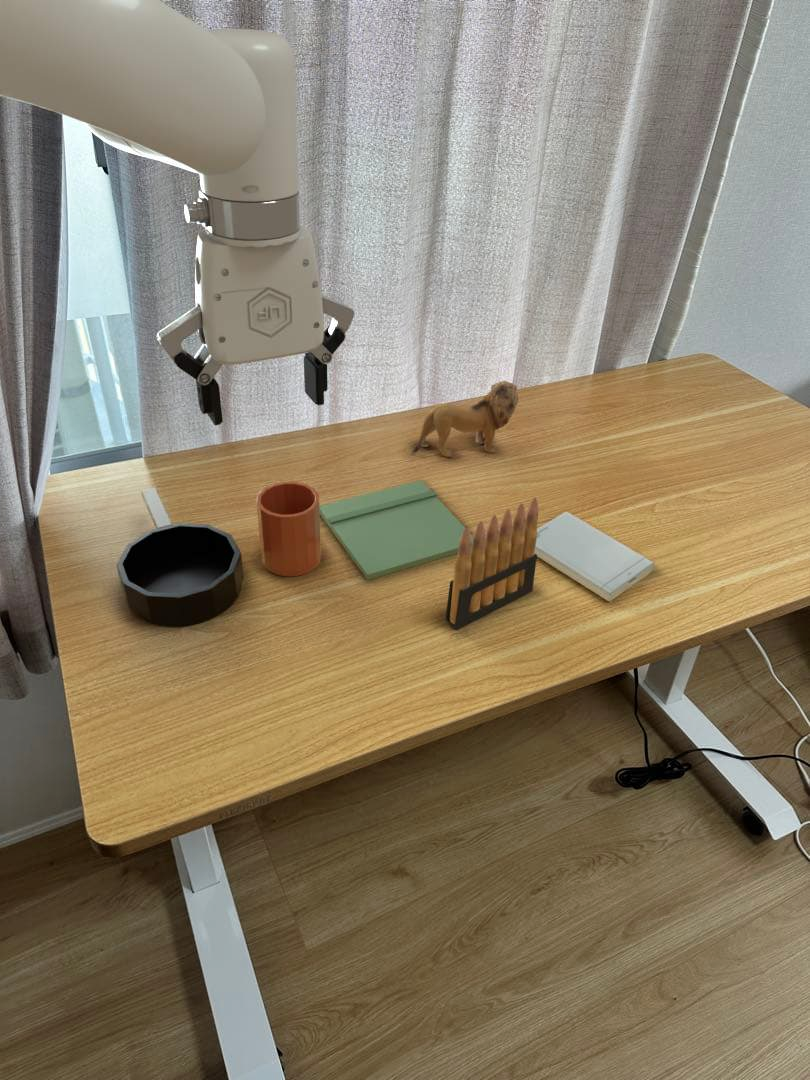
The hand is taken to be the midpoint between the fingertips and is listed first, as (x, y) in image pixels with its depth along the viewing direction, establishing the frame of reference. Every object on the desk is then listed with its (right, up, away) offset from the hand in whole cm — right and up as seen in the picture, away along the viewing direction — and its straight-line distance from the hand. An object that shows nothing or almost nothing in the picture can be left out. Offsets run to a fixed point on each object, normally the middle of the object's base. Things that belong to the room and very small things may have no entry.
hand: (265, 408), depth 74 cm
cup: (0, -14, +16) cm, 21 cm away
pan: (-12, -15, +14) cm, 24 cm away
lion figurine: (+21, +1, +36) cm, 42 cm away
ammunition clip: (+22, -19, +11) cm, 31 cm away
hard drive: (+33, -14, +17) cm, 40 cm away
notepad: (+12, -11, +21) cm, 26 cm away
